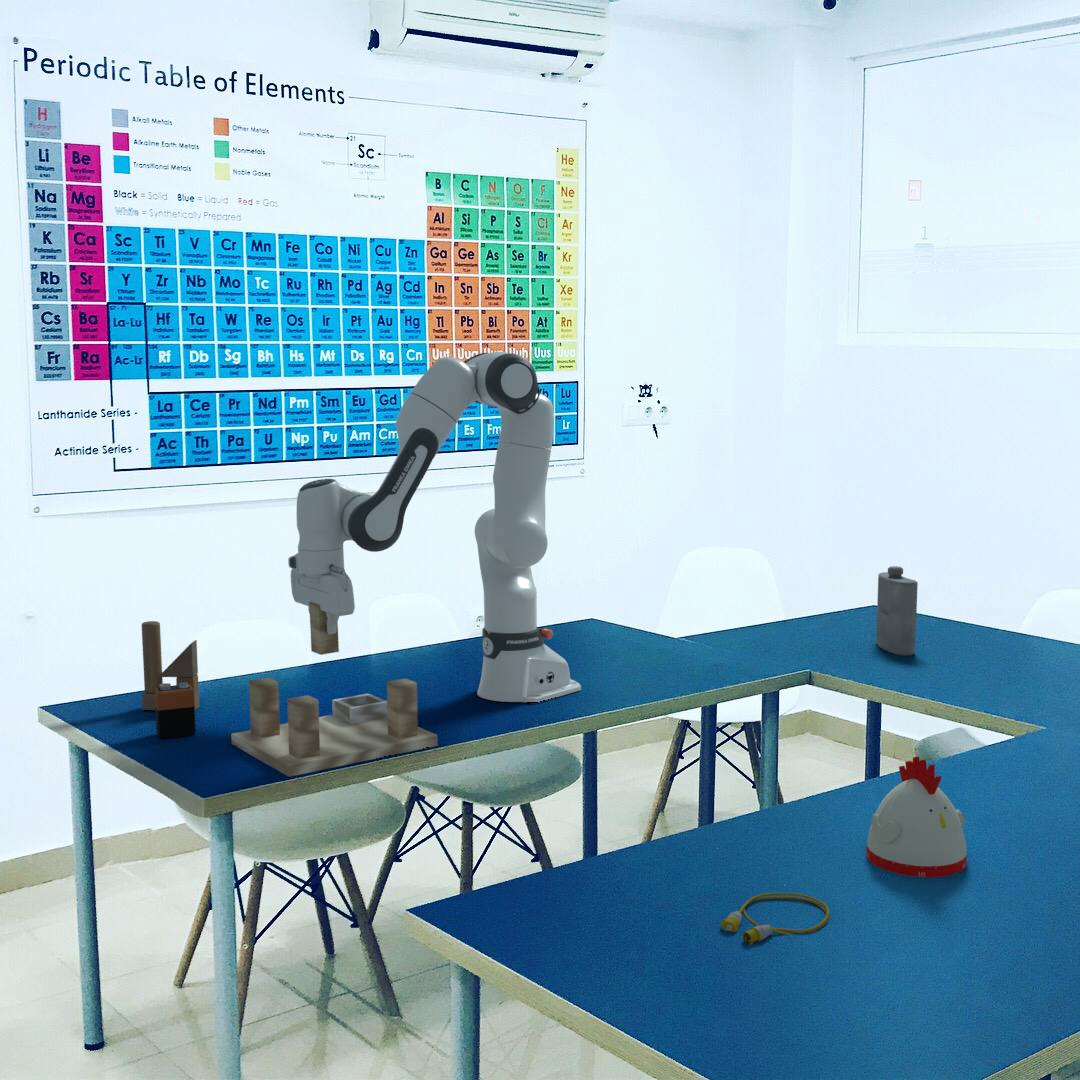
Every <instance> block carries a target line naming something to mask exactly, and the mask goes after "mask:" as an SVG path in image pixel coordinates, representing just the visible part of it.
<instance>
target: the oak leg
mask: <svg viewBox="0 0 1080 1080" xmlns="http://www.w3.org/2000/svg"><path fill="white" fill-rule="evenodd" d="M309 609H310V614H309V627H310V648H311V649H310V650H311V652H312V653H315V654H318V655H321V656H322V655H327V654H334V653H339V652H340V647H339V646H340V645H339V624H338V622H337V624H336V630H337V631H336V633H335V634H328V633H326V632H325V624H327V620H328V617H326V612H325V611H321V610H320V605H319V604H316V603H312V602H309Z"/></svg>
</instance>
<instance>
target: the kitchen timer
mask: <svg viewBox="0 0 1080 1080" xmlns="http://www.w3.org/2000/svg"><path fill="white" fill-rule="evenodd" d="M898 770H899V771H898V772H899V775H900V779H901V782H900V783H899V784H897V785H896V786H894V788H892V789H891V790H890V791H889V792H888V793H887V794H886V795H885V796H884V798H883V799H882V800H881V803H880V804H879V805H878V808H877V809H876V810H875V813H872V815H871V825H870V828H869V831H868V836H867V841H866V851H865V852H866V854H865V855H866V858H867V859H868V861H869V862H870V863H871V864H873V865H874V866H876V867H878V868H880V869H882V870H885V871H886V872H887V871H888V872H890V873H894V874H897V875H902V876H907V877H908V876H909V877H913V878H915V877H918V878H940V877H941V878H942V877H947V876H952V875H956V874H958V873H959V872H962V871H964V869H965V868H966V866H967V843H966V837H965V834H964V831H963V829H964V826H965V818H964V816H963V813H962V812H961V810H960V809H956V808H955V806H954V804H953V803H952V802H951V800H950V798H948V796H947V795H946V793H944V791H943V790H942V789H941V788H940V787H939V785H940V782H941V780H942V775H938V776H936V765H935V764H930V765H929V764H928V765H927V759H926V758H925V759H920V756H914V757H913V758H912V760H908V761H907V760H906V761H905V765H901V766H898Z"/></svg>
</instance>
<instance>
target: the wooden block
mask: <svg viewBox="0 0 1080 1080" xmlns="http://www.w3.org/2000/svg"><path fill="white" fill-rule="evenodd" d="M197 643H198V642H197V640H196V639H195V640H193V641H192V642H190V643H189V645H188V646H186V647H185V649H184V650H183V651H182V652H180V654H179V655H178V656H177V657H176V658H175V659H174V660H173V661H172V662H170V664H169V665H168V666H167V667H166V668H165V669H164V670H163V661H162V639H161V623H160V622H159V621H155V620H149V621H144V622H142V623H141V644H142V659H143V660H142V661H143V663H142V664H143V680H144V681H143V683H144V692H143V693H142V694H141V704H142V711H143V710H155V688H158V687H160V684H164V681H163V678H175V681H176V682H175V683H176V685H175V686H177V685H179V683H184V682H186V683H188V685H190V686H191V687H192V688H193V690H194V704H195V711H197V710H198V709H199V708H198V707H200V694H199V693H200V692H199V691H200V690H199V668H198V644H197Z"/></svg>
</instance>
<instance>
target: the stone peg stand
mask: <svg viewBox="0 0 1080 1080" xmlns="http://www.w3.org/2000/svg"><path fill="white" fill-rule="evenodd" d="M279 687H280V686H279V681H278V680H275V679H273V678H271V677H264V678H258V679H251V680H248V693H249V694H248V695H249V718H250V720H249V721H250V729H249V730H243V731H238V732H232V733H231V745H233V746H234V745H235V747H236V746H237V747H236V748H238V749H240V750H242V751H243V752H244V753H247V754H248V755H250V756H252V757H253V758H255V759H257V760H259V761H261V762H263V763H264V764H266V765H268V766H269V767H271V768H273V769H275V770H276V771H278V772H280V773H282V774H284V775H285V776H287V777H288V778H289V777H294V776H300V775H305V774H309V773H314V772H318V771H323V770H328V769H333V768H337V767H342V766H347V765H352V764H356V763H357V764H358V763H361V762H366V761H372V760H377V759H381V758H385V757H384V756H386V757H389V755H391V756H396V755H399V754H403V753H409V752H413V751H419V750H423V748H424V749H427V748H426V747H429V748H433V747H438V745H439V744H438V742H439V741H438V735H437V734H435V733H433V732H431V731H429V730H426V729H424V728H422V727H419V726H418V724H419V723H418V682H416V681H413V680H410V679H409V678H401V679H400V678H399V679H393V680H389V681H386V697H387V698H386V699H387V700H384V699H383V698H381V697H378V696H375V695H373V694H370V693H363V694H359V695H358V694H357V695H353V696H347V697H346V696H345V697H341V698H335V699H331V702H332V704H331V706H332V714H330V715H324V716H320V707H319V706H320V705H319V703H320V701H319V699H317V698H315V697H313V696H311V695H308V694H307V695H306V694H305V695H303V696H297V697H290V698H287V702H286V704H287V722H286V723H281V721H280V692H279V691H280V690H279ZM395 754H396V755H395ZM380 757H381V758H380ZM376 758H377V759H376Z"/></svg>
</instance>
